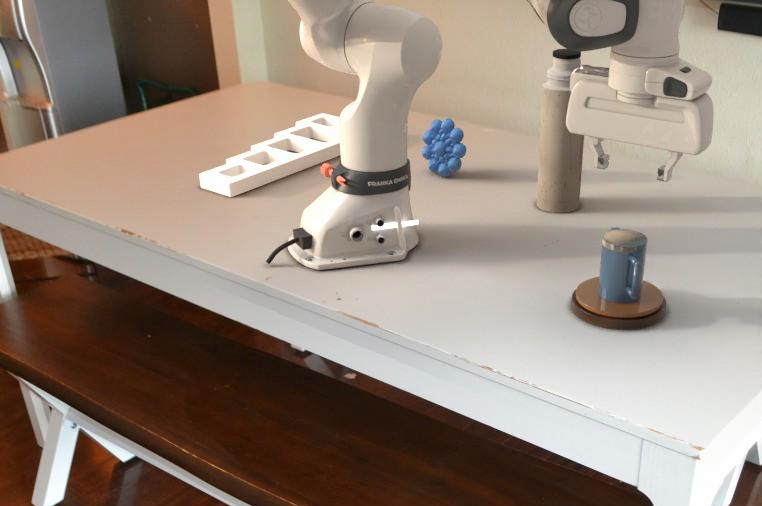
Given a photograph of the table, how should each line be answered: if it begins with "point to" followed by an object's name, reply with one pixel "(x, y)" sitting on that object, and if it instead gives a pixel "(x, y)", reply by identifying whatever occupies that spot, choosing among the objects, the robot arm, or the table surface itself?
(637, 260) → the blue mug on coaster
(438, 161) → the grapes
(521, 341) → the table surface
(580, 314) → the turntable base
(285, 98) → the table surface
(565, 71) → the thermos bottle
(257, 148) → the holder
